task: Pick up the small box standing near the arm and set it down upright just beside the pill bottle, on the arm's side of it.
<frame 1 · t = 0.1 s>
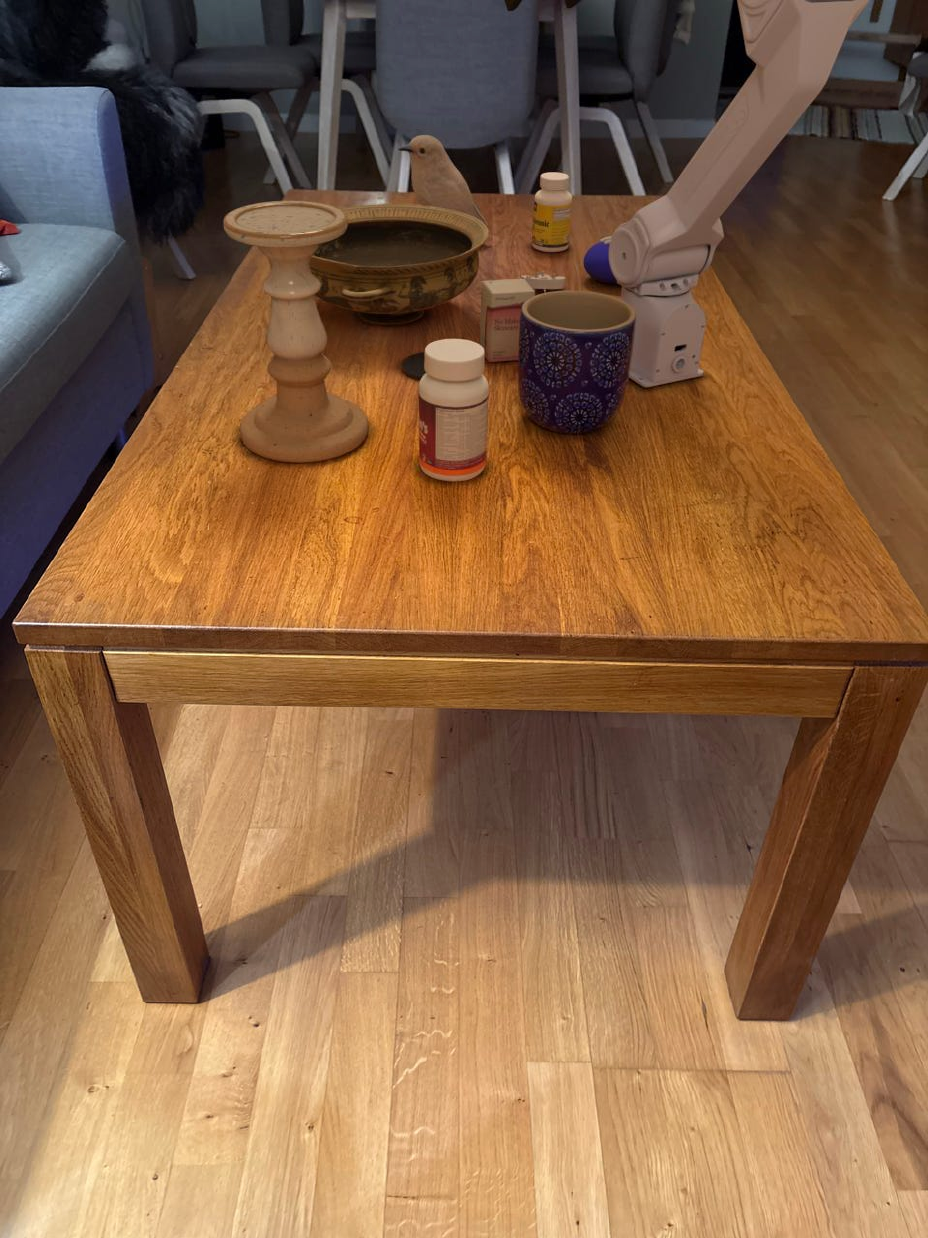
hand: (537, 0, 108), 32 cm above the table, tool tilted 50°, fingers open, 7 cm apart
ceramic bowl: (389, 315, 120), on the table
decorative object: (621, 283, 130), on the table
bird: (446, 248, 141), on the table
planter: (568, 420, 98), on the table
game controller: (541, 299, 125), on the table
small box: (505, 356, 110), on the table
candle holder: (305, 435, 94), on the table
supplement bottle: (549, 248, 142), on the table
slate coaster: (433, 367, 107), on the table
pill bottle: (452, 469, 89), on the table
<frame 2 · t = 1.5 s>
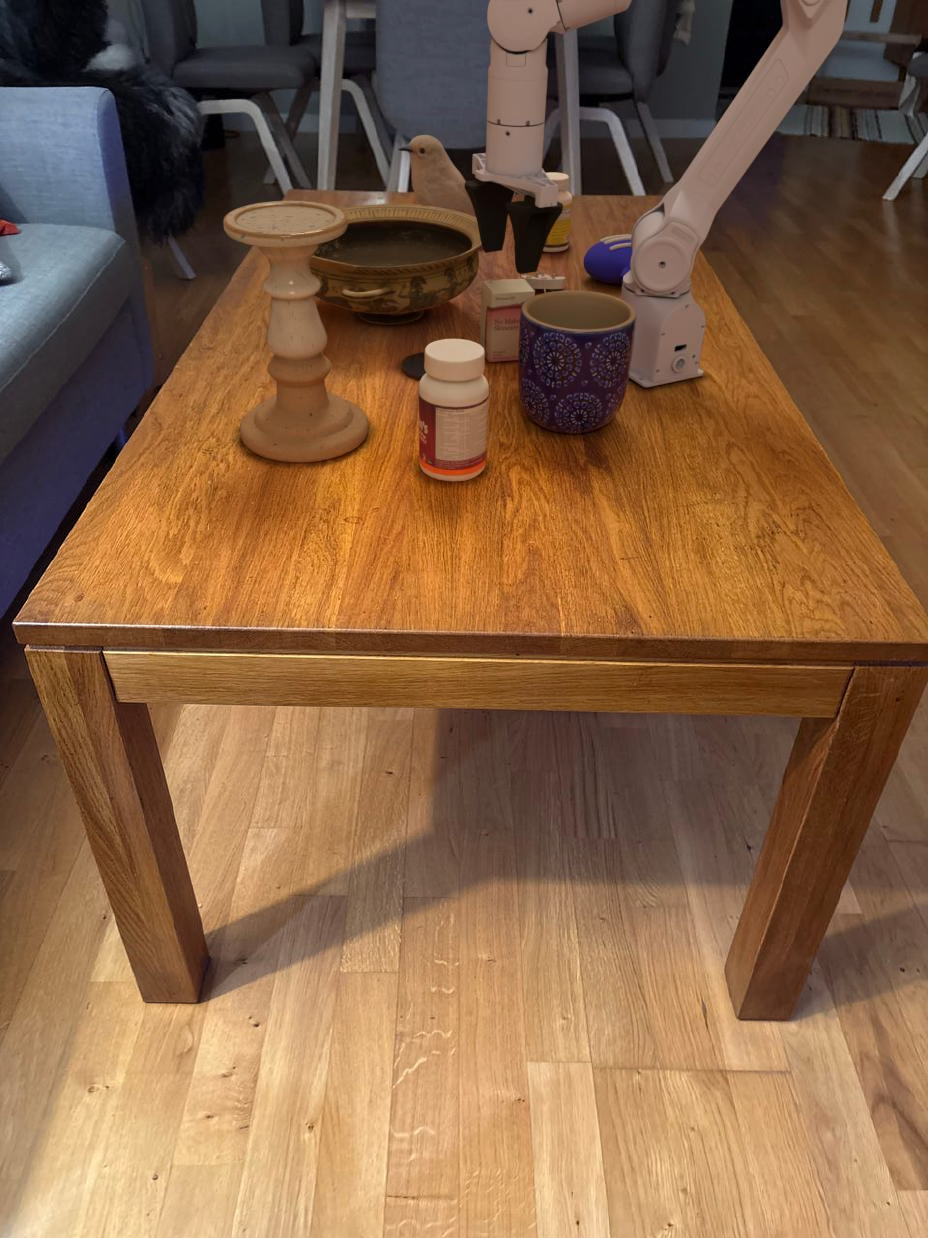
hand: (509, 260, 104), 10 cm above the table, tool pointing down, fingers open, 7 cm apart
nothing on the table moved.
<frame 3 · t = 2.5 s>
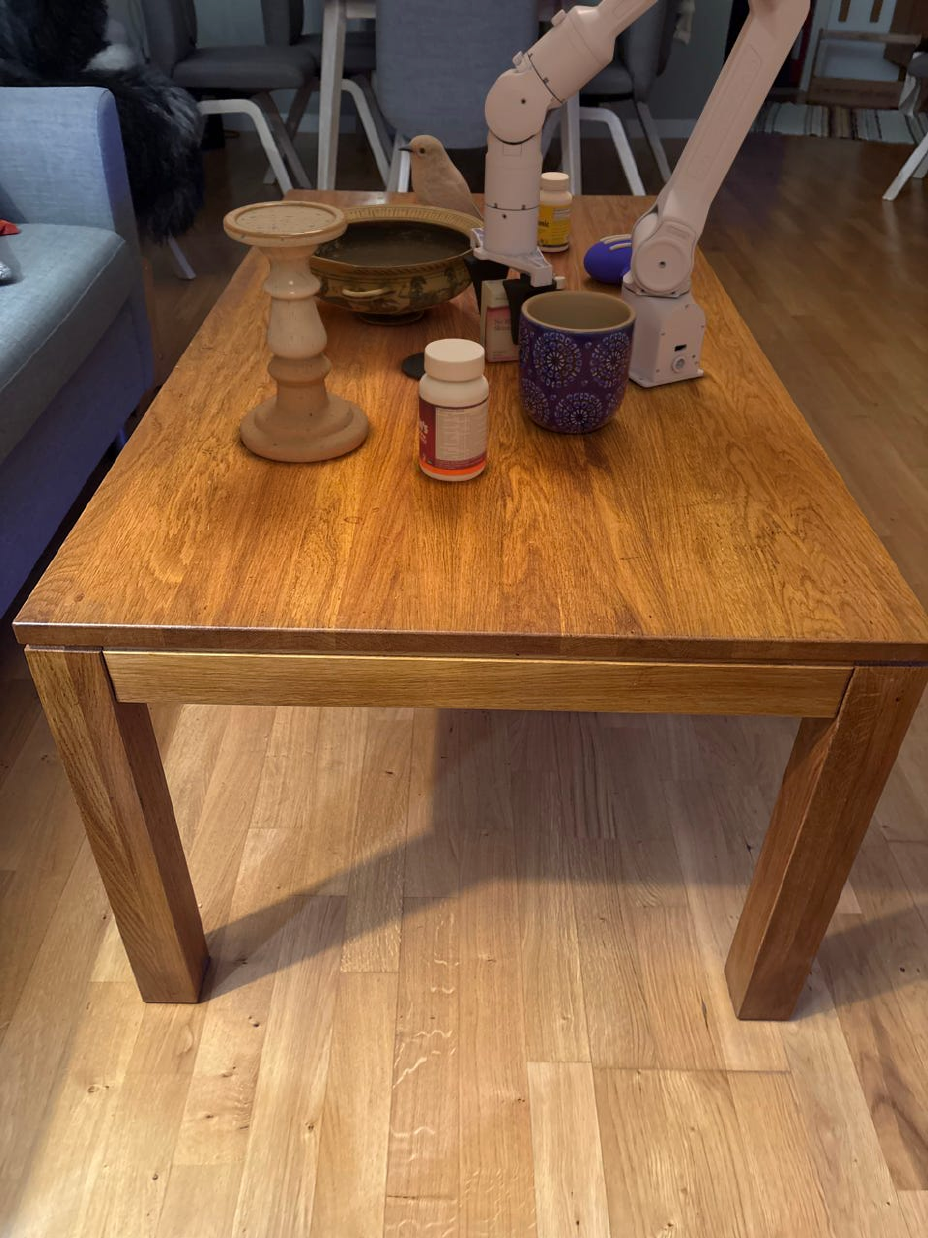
hand: (505, 330, 108), 3 cm above the table, tool pointing down, fingers open, 7 cm apart
nothing on the table moved.
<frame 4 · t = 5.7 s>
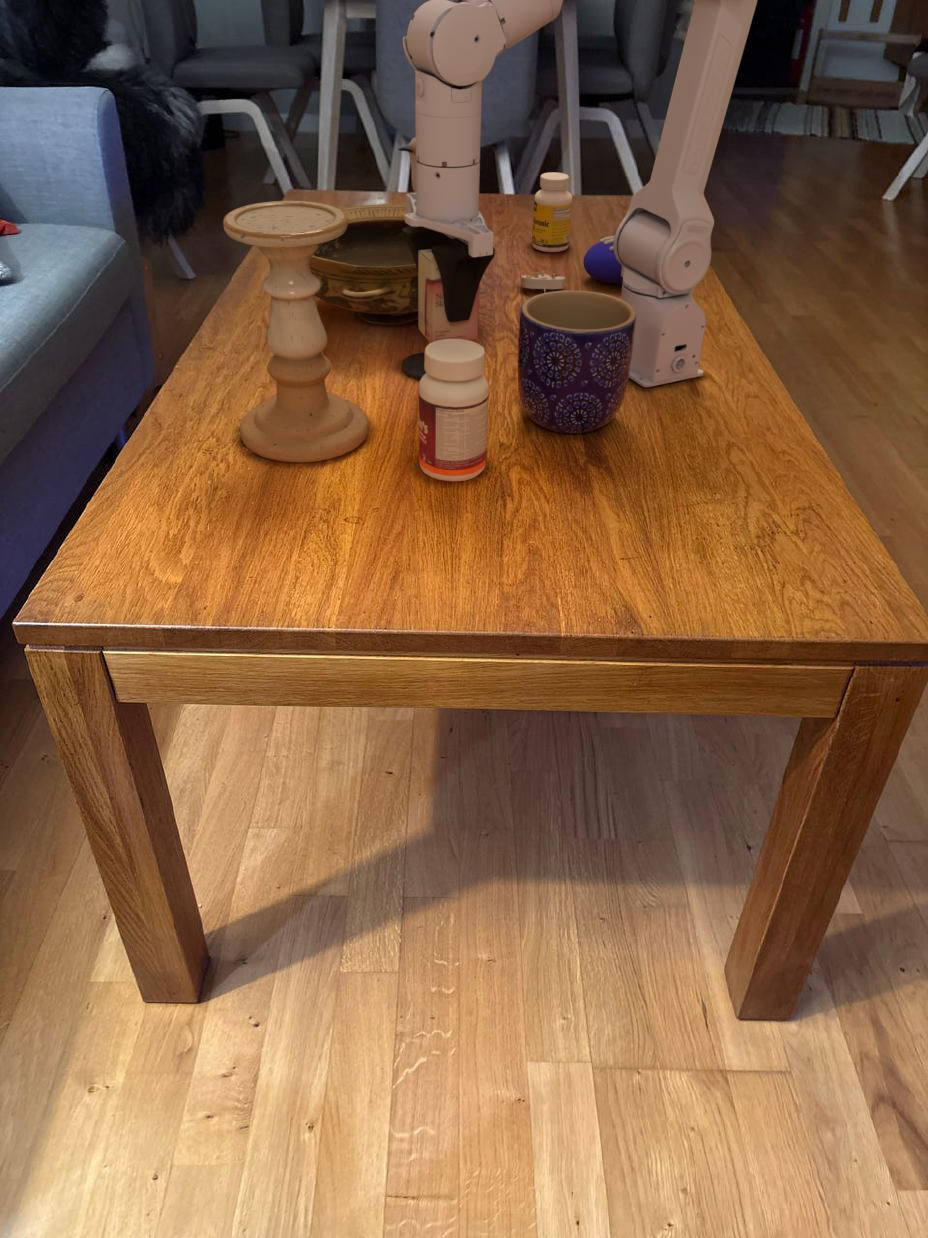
hand: (446, 310, 95), 9 cm above the table, tool pointing down, fingers closed on small box, 4 cm apart
small box: (448, 336, 96), point 7 cm above the table, touching gripper
everything else where it was.
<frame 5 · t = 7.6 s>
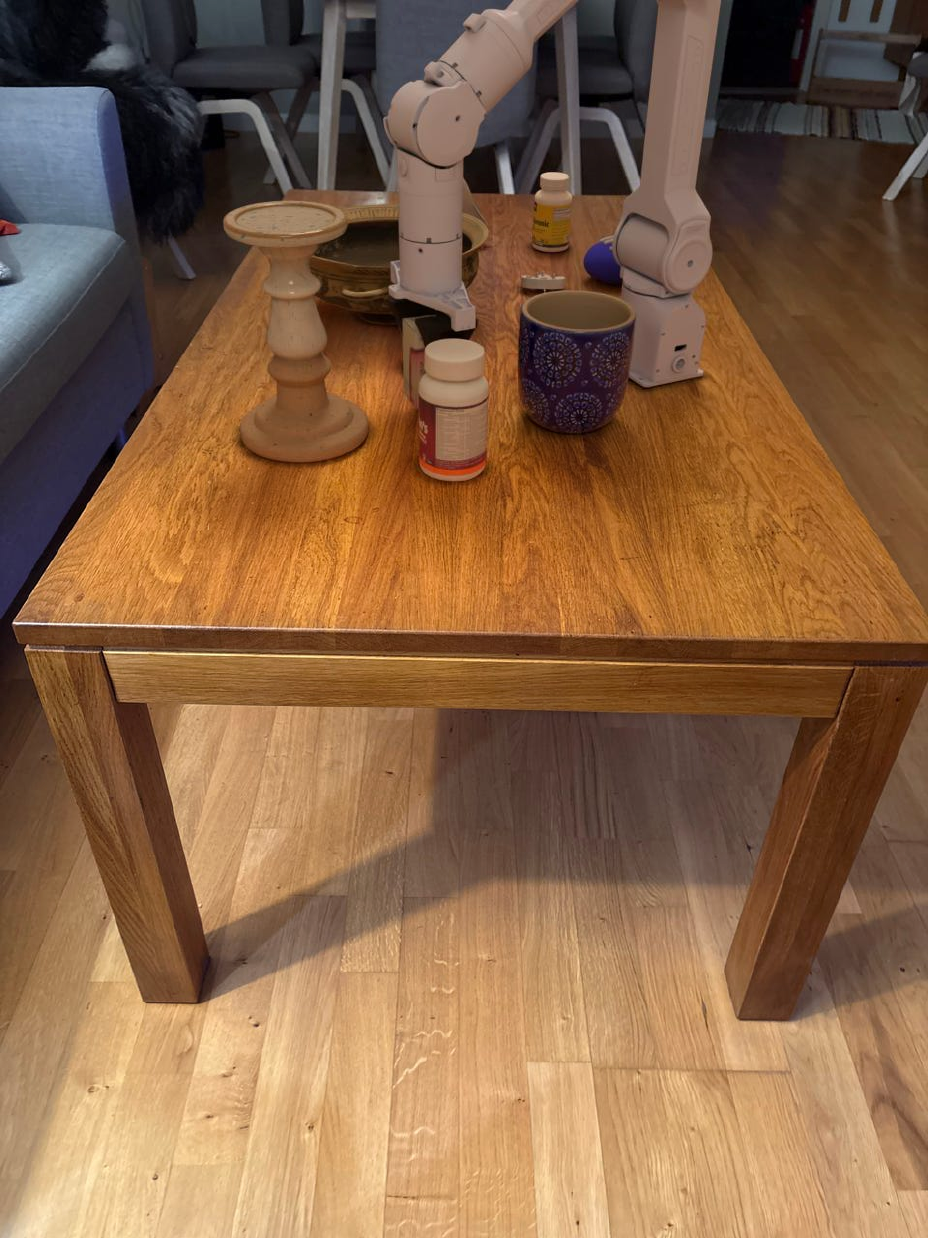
hand: (431, 376, 96), 4 cm above the table, tool pointing down, fingers closed on small box, 4 cm apart
small box: (433, 400, 97), point 1 cm above the table, touching gripper
everything else where it was.
when the fingers open (2 cm above the table, at t = 8.6 s): small box stays where it is, on the table.
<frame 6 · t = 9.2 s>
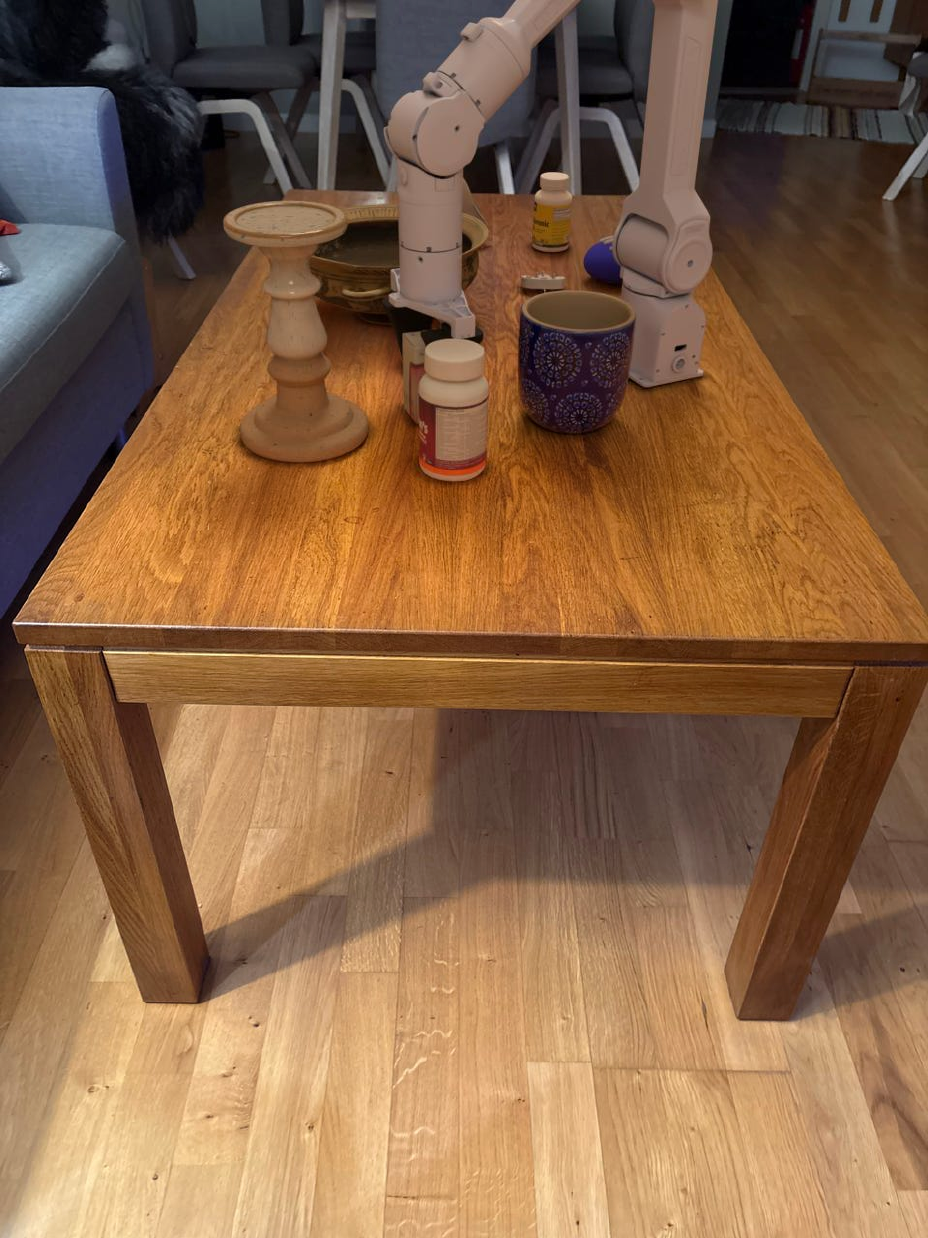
hand: (431, 383, 96), 3 cm above the table, tool pointing down, fingers open, 7 cm apart
small box: (432, 414, 98), on the table
everything else where it was.
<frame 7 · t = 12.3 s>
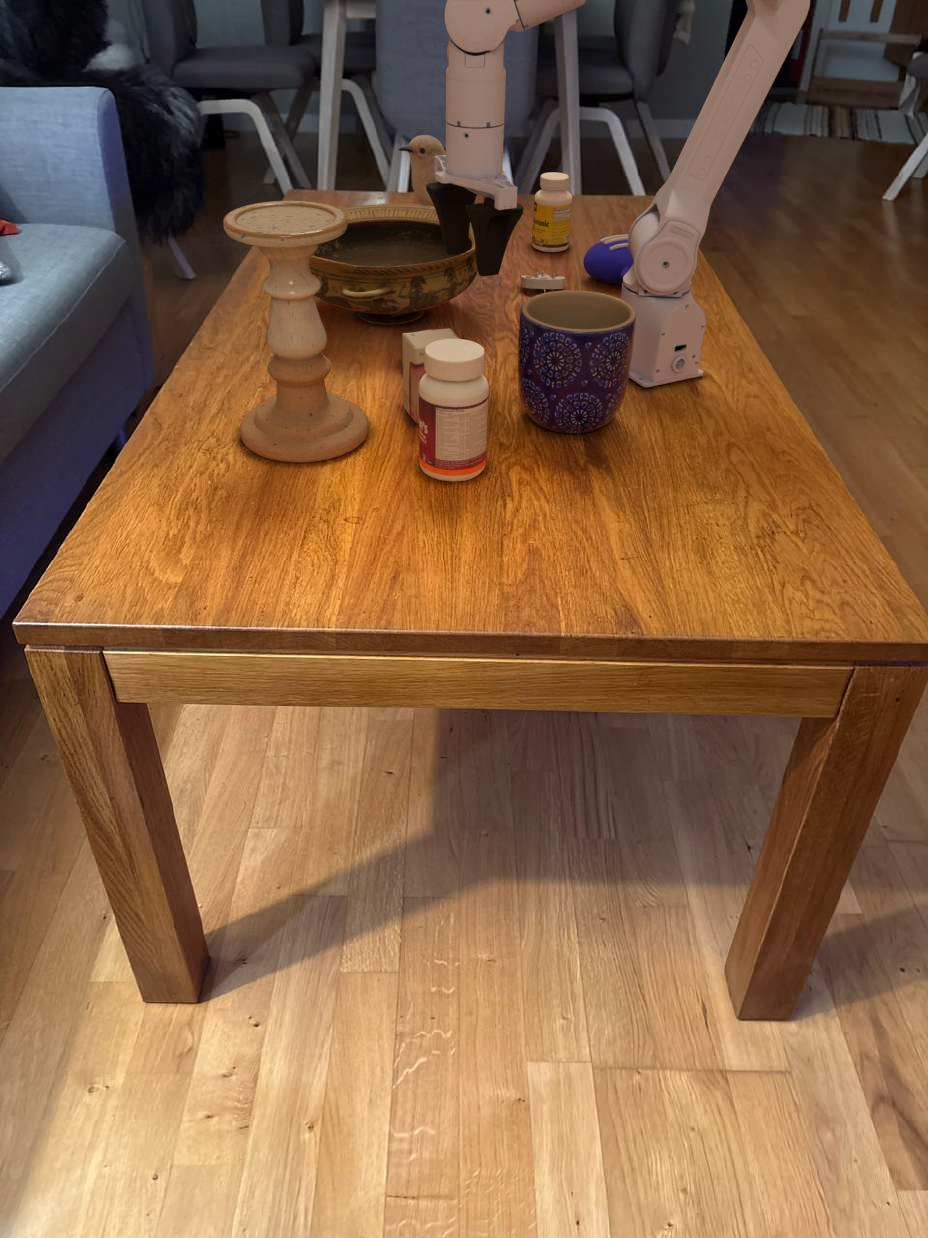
hand: (471, 263, 103), 10 cm above the table, tool pointing down, fingers open, 7 cm apart
nothing on the table moved.
at the end: small box inside the target area on the table beside the pill bottle (0.2 cm from its centre), on the table; small box tilted 0° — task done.
